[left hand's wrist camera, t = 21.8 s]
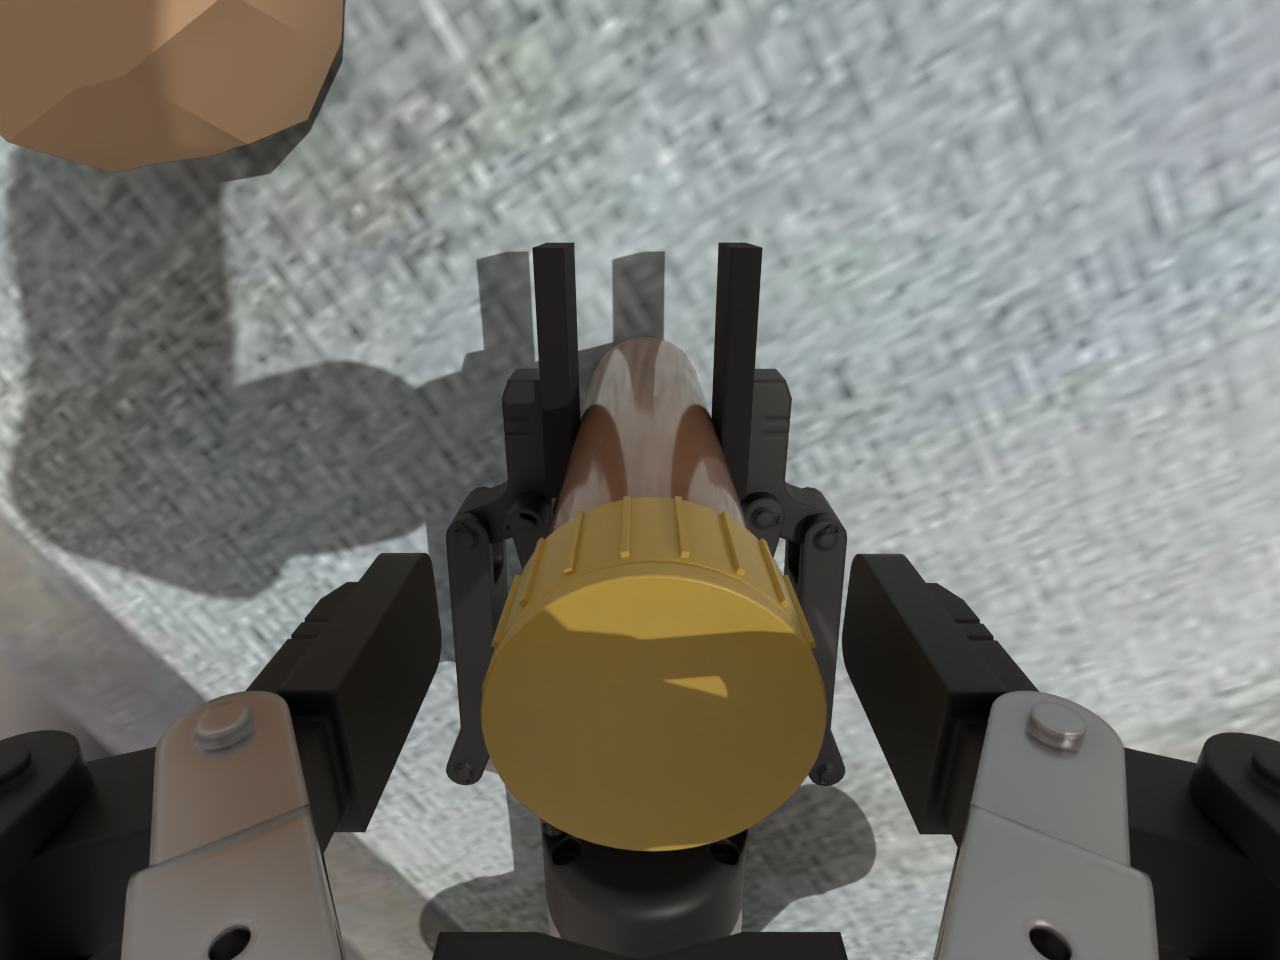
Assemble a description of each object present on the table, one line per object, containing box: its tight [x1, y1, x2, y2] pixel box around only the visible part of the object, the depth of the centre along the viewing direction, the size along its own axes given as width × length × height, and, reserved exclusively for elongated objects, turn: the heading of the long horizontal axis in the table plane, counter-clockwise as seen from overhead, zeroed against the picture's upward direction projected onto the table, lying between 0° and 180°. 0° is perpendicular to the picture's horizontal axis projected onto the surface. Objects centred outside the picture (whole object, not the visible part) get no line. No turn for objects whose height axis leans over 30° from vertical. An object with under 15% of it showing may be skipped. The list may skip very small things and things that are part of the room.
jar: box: [548, 337, 750, 536], centre depth 17 cm, size 4×4×17 cm
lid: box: [481, 496, 827, 851], centre depth 10 cm, size 5×5×2 cm
